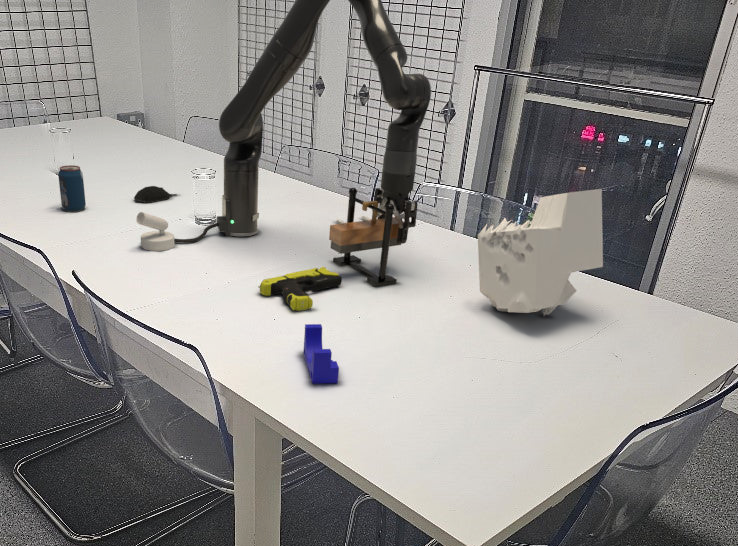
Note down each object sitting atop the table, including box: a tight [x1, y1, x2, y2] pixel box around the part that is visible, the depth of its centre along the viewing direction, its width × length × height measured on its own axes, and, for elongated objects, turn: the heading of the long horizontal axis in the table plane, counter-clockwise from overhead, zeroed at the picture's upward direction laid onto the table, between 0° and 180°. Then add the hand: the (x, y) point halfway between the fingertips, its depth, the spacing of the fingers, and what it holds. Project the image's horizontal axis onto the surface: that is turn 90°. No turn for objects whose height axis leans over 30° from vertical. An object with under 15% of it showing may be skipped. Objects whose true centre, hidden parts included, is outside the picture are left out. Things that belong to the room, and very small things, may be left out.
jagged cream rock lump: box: [477, 188, 604, 317], centre depth 157 cm, size 20×16×25 cm
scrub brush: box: [328, 200, 404, 255], centre depth 175 cm, size 18×5×11 cm, turn 117°
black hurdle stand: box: [332, 187, 398, 288], centre depth 176 cm, size 6×19×18 cm, turn 27°
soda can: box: [57, 164, 87, 213], centre depth 217 cm, size 7×7×12 cm
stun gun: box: [257, 266, 343, 312], centre depth 167 cm, size 3×19×15 cm
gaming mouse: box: [133, 185, 177, 203], centre depth 232 cm, size 6×15×4 cm, turn 128°
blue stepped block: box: [302, 323, 340, 385], centre depth 135 cm, size 12×4×6 cm, turn 5°
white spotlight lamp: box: [135, 211, 175, 252], centre depth 191 cm, size 9×10×10 cm
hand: (390, 238), depth 179 cm, fingers open, 8 cm apart
